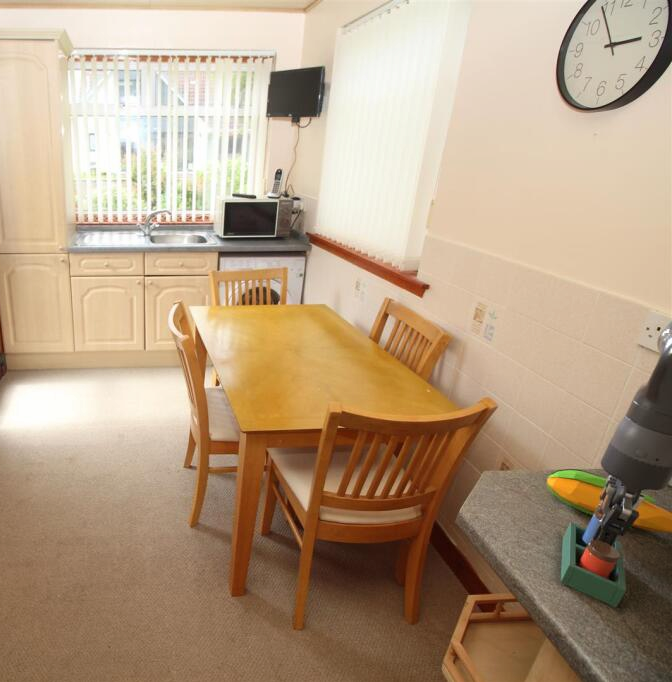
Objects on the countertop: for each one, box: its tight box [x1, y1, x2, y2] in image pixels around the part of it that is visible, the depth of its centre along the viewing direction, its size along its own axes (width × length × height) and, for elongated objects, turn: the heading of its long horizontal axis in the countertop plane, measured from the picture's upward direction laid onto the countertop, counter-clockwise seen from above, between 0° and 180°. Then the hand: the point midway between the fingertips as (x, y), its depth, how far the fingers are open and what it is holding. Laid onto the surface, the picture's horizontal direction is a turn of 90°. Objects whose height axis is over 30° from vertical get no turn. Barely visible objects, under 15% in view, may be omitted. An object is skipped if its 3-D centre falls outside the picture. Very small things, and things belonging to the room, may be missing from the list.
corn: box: [546, 468, 672, 534], centre depth 87 cm, size 7×8×20 cm
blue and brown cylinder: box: [582, 507, 620, 547], centre depth 76 cm, size 4×4×6 cm
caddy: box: [560, 521, 627, 608], centre depth 76 cm, size 7×12×4 cm, turn 140°
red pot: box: [577, 540, 620, 579], centre depth 73 cm, size 4×4×6 cm
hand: (599, 537), depth 77 cm, fingers closed on blue and brown cylinder, 3 cm apart
